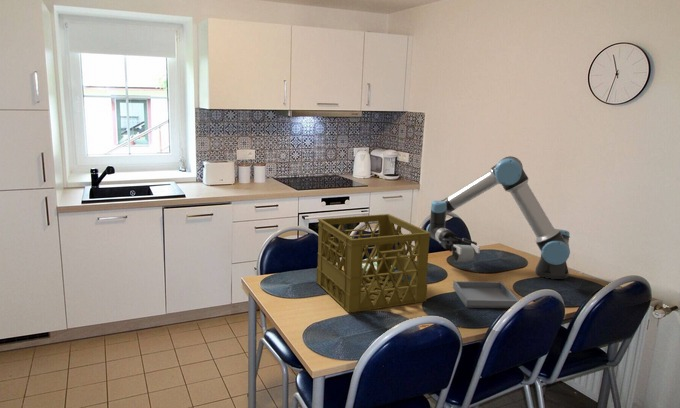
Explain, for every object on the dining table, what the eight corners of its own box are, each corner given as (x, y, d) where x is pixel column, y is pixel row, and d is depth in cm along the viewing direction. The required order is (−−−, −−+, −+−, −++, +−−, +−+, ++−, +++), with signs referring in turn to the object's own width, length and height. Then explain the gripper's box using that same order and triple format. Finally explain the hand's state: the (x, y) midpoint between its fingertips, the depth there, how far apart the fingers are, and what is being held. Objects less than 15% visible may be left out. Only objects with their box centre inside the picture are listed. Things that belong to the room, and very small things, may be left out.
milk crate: (316, 283, 230) (317, 218, 224) (385, 274, 244) (388, 213, 238) (348, 314, 198) (351, 240, 192) (426, 302, 212) (430, 232, 206)
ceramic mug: (475, 263, 228) (476, 246, 226) (458, 263, 226) (459, 247, 225) (464, 256, 238) (466, 240, 237) (448, 256, 236) (449, 240, 235)
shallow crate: (501, 288, 230) (501, 281, 229) (519, 308, 209) (520, 301, 208) (453, 287, 229) (453, 281, 229) (466, 307, 208) (466, 300, 207)
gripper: (465, 243, 250) (490, 257, 228) (425, 245, 244) (447, 260, 223) (466, 228, 248) (491, 241, 227) (426, 230, 242) (448, 244, 221)
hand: (469, 251), depth 225 cm, fingers closed on ceramic mug, 8 cm apart
